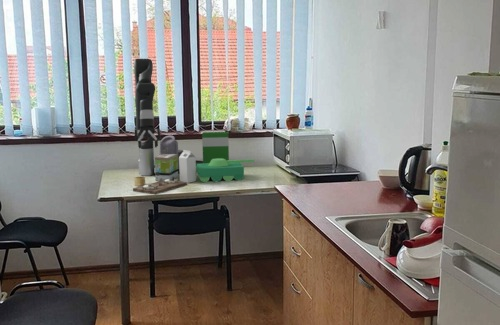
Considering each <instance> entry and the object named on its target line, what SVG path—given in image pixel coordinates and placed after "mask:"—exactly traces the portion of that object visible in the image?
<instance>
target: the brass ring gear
mask: <svg viewBox="0 0 500 325" xmlns="http://www.w3.org/2000/svg"><path fill="white" fill-rule="evenodd" d="M133 178H134V179H133V181H134V186H135V187H140V186H143V185H146V176H135V177H133Z"/></svg>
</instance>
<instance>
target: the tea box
mask: <svg viewBox="0 0 500 325" xmlns="http://www.w3.org/2000/svg"><path fill="white" fill-rule="evenodd" d="M158 155H159V154H158ZM154 170H155V174H154V176H155V179H154V180H155V181H156V182H158V181H159V178H162V180H165V179H166V180H167V179H172V177H174V179H177V178H178V177H179V174H178V154H162V155H159V156H154Z"/></svg>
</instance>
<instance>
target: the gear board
mask: <svg viewBox="0 0 500 325" xmlns="http://www.w3.org/2000/svg"><path fill="white" fill-rule="evenodd" d="M187 184H188V183H187V182H182V181H180V180H179V179H177V178H174V177H172V179H167V180H166V179H165V180H162V178H159V181H154V182H151V183H148V184H145V185H143V186H135V187H133V188H132V192H136V193H143V194H152V195H156V194H160V193H163V192H167V191H170V190H173V189H176V188H180V187H183V186H186V185H187Z"/></svg>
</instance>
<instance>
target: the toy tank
mask: <svg viewBox="0 0 500 325" xmlns="http://www.w3.org/2000/svg"><path fill="white" fill-rule="evenodd" d="M254 162H255V159H253V158H251V159H233V160H232V159H229V160H227V161H226V159H221V158H217V159H212V160H211V162H210V163H203V162H202V163H201V162H200V163H196V175H197V176H198V178H199V180H200V181H201V182H202V183H207V182H208V181H210V179H211V180H212V181H213V182H220V181H221V180H222V179H223V180H224V181H225V182H231V181H232V180H233V179H234V180H235V181H242V180H243V179H244V176H245V166H244V165H243V164H242V163H254Z"/></svg>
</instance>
